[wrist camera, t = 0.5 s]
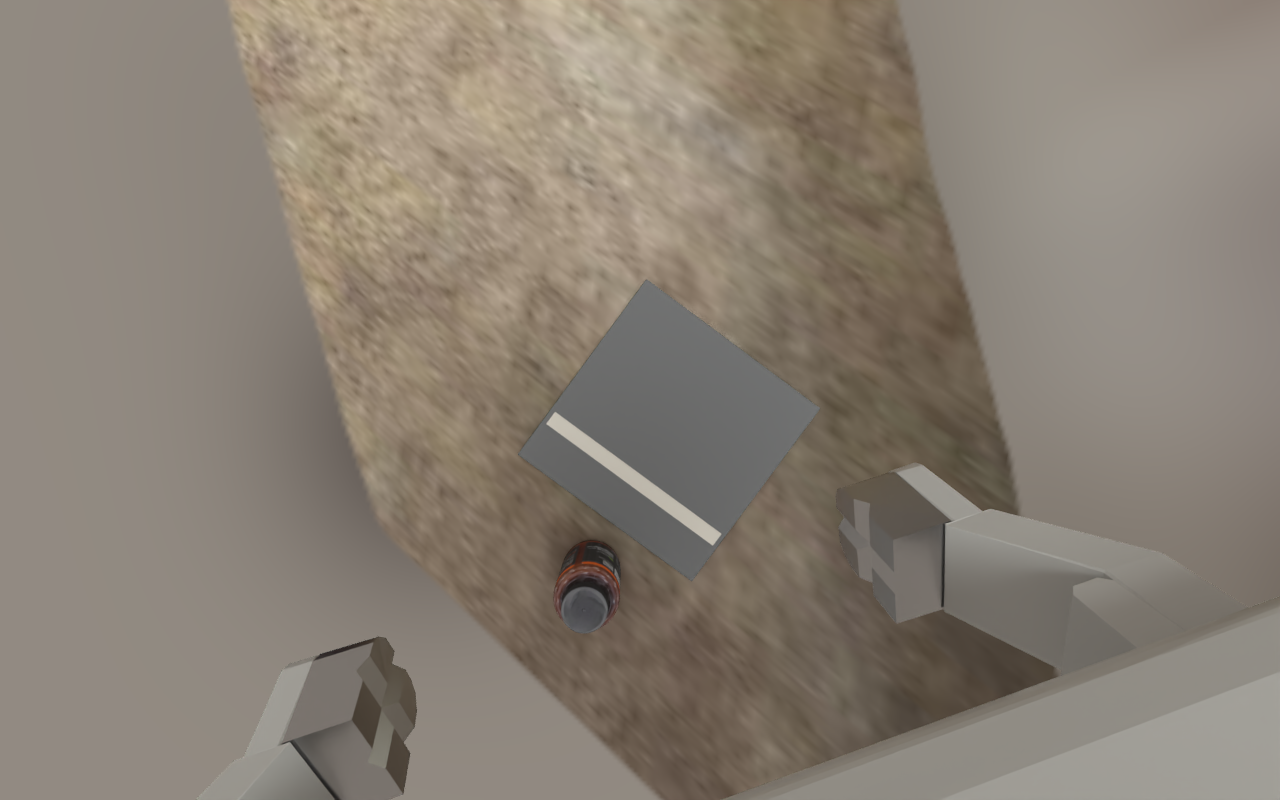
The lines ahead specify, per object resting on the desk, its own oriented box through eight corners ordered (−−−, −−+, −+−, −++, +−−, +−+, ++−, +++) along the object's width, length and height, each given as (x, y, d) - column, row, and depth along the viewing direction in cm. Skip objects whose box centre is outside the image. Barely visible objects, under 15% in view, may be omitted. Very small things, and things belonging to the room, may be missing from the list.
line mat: (818, 408, 60) (820, 408, 59) (691, 579, 60) (692, 581, 59) (646, 279, 59) (646, 278, 59) (518, 453, 59) (517, 454, 59)
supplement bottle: (558, 591, 60) (541, 639, 49) (568, 534, 60) (553, 569, 48) (616, 600, 60) (612, 650, 49) (625, 543, 60) (624, 581, 49)
